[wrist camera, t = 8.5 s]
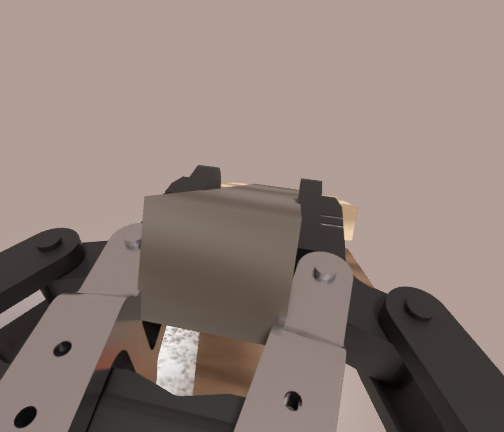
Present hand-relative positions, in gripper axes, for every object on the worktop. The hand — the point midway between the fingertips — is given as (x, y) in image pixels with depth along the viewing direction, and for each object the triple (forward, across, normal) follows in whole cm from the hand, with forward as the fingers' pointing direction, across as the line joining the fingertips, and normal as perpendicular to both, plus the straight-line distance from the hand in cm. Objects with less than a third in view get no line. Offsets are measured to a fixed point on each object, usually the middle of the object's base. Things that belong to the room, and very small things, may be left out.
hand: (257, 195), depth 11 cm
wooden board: (+5, 0, +6) cm, 8 cm away
